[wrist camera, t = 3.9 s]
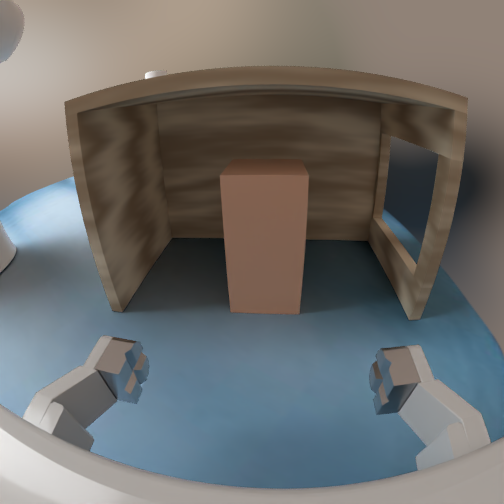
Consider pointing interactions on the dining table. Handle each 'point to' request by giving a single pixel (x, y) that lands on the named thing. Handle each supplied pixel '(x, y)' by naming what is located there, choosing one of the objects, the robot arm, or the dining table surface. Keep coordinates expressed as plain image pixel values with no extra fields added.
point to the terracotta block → (265, 233)
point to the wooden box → (257, 147)
